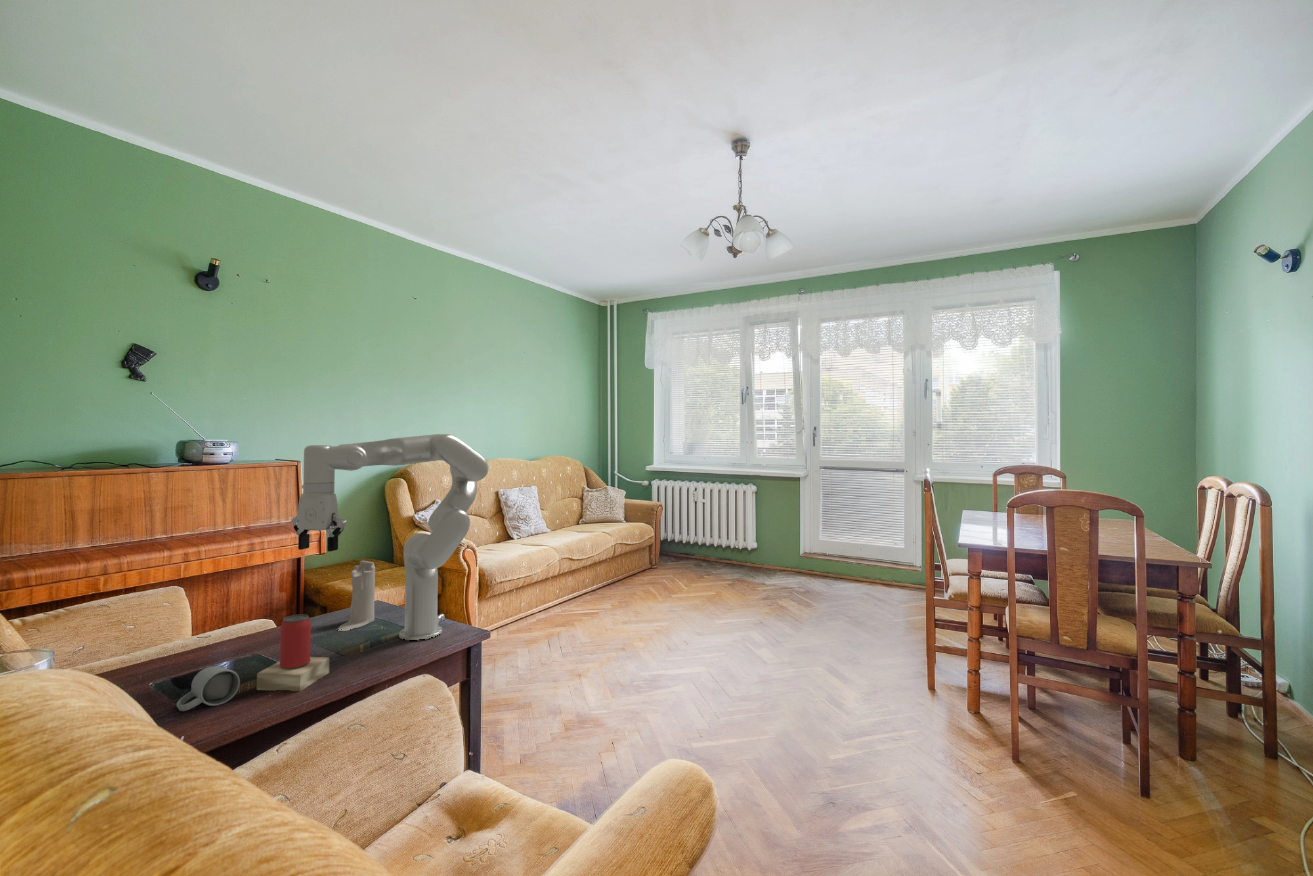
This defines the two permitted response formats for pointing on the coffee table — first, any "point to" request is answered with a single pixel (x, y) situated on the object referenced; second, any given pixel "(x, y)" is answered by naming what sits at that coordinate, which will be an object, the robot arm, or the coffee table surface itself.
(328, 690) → the coffee table surface
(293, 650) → the beer can
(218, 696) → the ceramic mug
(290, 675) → the birch block
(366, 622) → the beige boot
